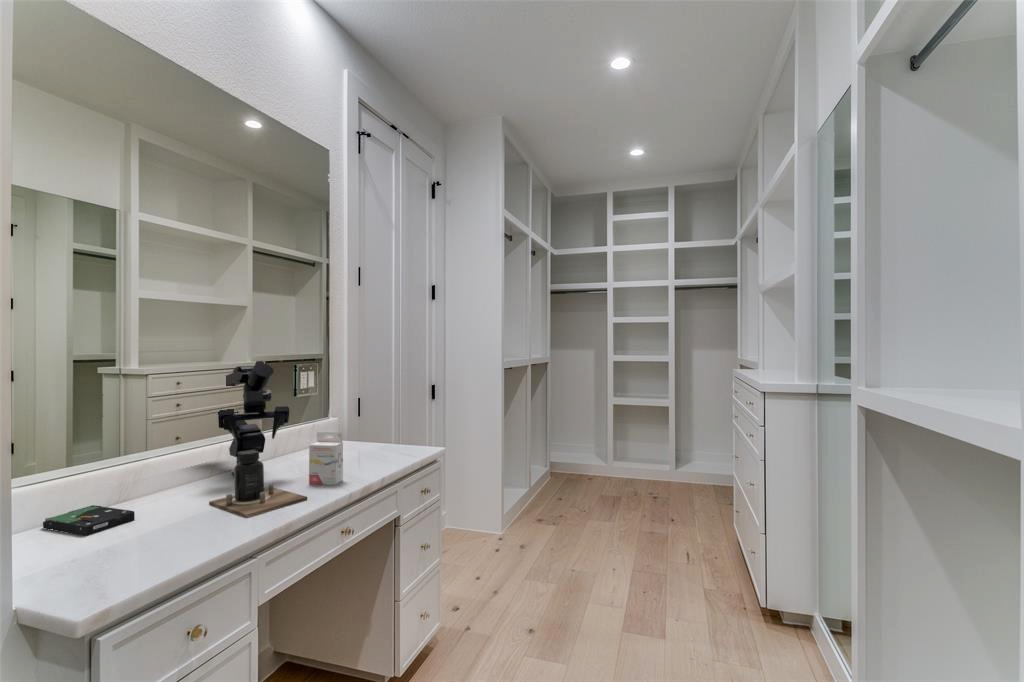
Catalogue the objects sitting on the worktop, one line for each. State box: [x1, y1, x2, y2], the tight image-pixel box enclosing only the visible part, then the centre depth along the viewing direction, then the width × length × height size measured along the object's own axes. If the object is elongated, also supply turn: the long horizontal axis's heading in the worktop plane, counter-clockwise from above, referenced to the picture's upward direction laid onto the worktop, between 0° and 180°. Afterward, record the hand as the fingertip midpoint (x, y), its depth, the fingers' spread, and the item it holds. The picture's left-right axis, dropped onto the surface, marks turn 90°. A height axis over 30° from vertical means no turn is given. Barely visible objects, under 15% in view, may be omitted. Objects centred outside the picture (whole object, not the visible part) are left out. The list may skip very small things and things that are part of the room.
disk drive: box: [42, 504, 136, 537], centre depth 113 cm, size 10×3×15 cm
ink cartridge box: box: [308, 431, 344, 486], centre depth 146 cm, size 9×5×15 cm, turn 84°
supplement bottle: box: [233, 451, 265, 502], centre depth 128 cm, size 7×7×12 cm
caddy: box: [208, 483, 308, 519], centre depth 128 cm, size 18×16×3 cm
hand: (255, 439), depth 142 cm, fingers open, 9 cm apart
